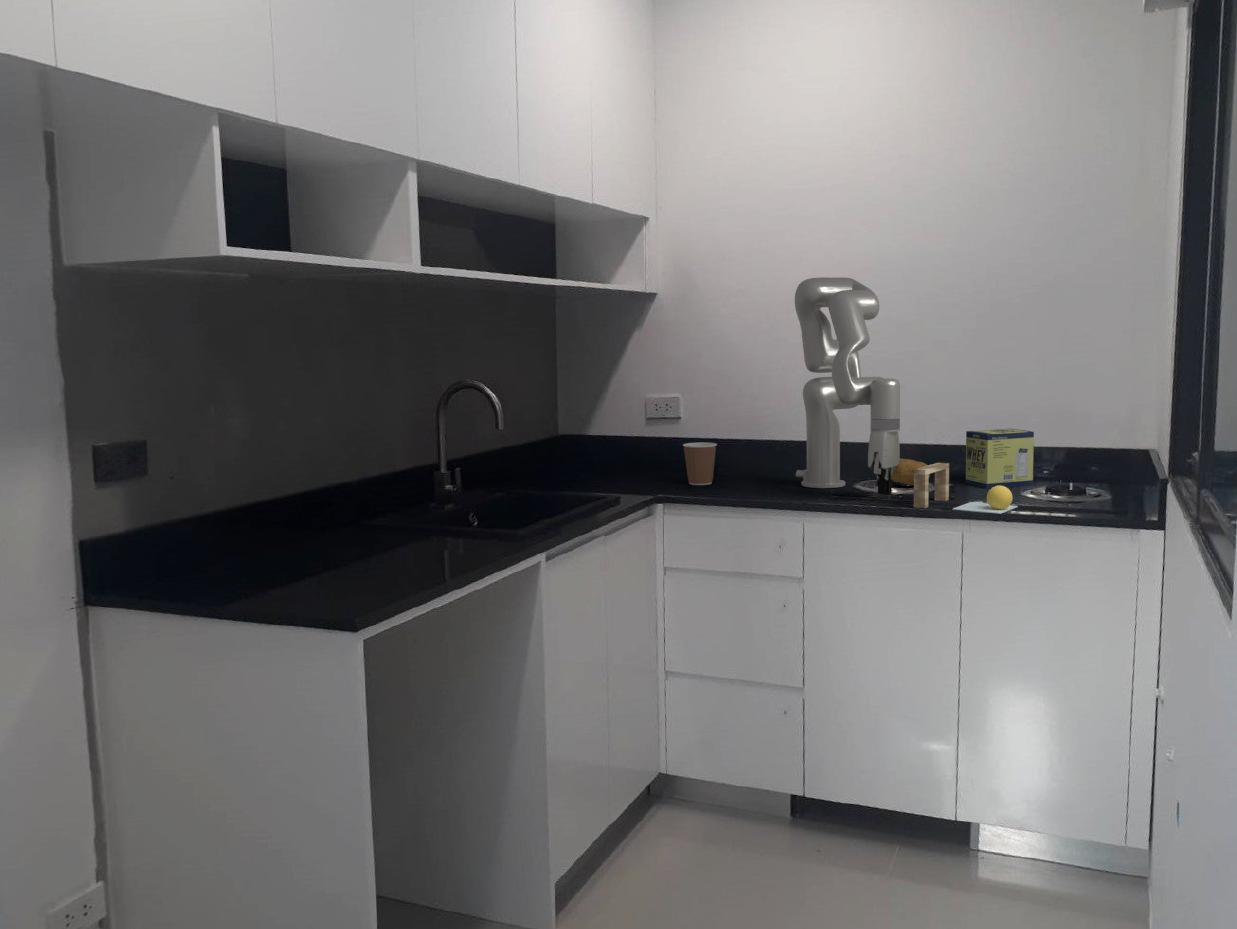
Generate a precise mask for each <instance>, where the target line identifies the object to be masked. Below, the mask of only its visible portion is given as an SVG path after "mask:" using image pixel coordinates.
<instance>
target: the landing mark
mask: <svg viewBox="0 0 1237 929" xmlns="http://www.w3.org/2000/svg"><path fill="white" fill-rule="evenodd" d="M1015 508H1018V505H1012V504H1010V506H1009V507H1007V508H1005V509H1002V510H999V509H994V508H992V507H991V506H990V505H989V504H988V502H987V503H985V502H977V501H974V502H973V501H970V502H967V503H964V504H961V505H958V506H957V507H953V508H952V509H951V510H954V511H955V510H956V511H962V512H963V511H964V512H974V513H975V512H976V513H984V514H985V513H987V514H999V515H1001V514H1003V513H1006V512H1008V511H1011V510H1013V509H1015Z"/></svg>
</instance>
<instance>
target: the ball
mask: <svg viewBox="0 0 1237 929" xmlns="http://www.w3.org/2000/svg"><path fill="white" fill-rule="evenodd" d="M986 501H987V503H988V504H989V505H990V506H991V507H992V508H994V509H999V510H1002V509H1005V508H1007V507H1009V506H1010V505H1012V502H1013V493H1012V491H1011V490H1010V488H1009V487H1004V486H995V487H992V488H991V489H989V490H988V492H987V495H986Z"/></svg>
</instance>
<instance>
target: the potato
mask: <svg viewBox="0 0 1237 929" xmlns="http://www.w3.org/2000/svg"><path fill="white" fill-rule="evenodd" d="M924 466H928V464H927V463H925V462H922V461H917V460H913V459H909V458H907V459H906V458H901V457H900V459H899V464H898V465H897V466H896V469H895V470H894V471H893V477H892V482H894V483H895V482H901V483H904V484H907V485H914V469H917V468H921V467H924ZM930 476H931V473H930V474H929V478H930Z"/></svg>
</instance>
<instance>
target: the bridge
mask: <svg viewBox="0 0 1237 929" xmlns="http://www.w3.org/2000/svg"><path fill="white" fill-rule="evenodd" d="M933 473H934V501H940V502H941V501H943V502H947V501H949V499H950V498H949V497H950V496H949V494H950V493H949V492H950V463H949V462H947V463H945V462H935V463H933V464H929V465H928V464H927V466H924V467H921V468H917V469H914V487H913V508H920V509H927V508H929V485H930V484H929V479H930V477H929V474H930V475H931V474H933Z"/></svg>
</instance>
